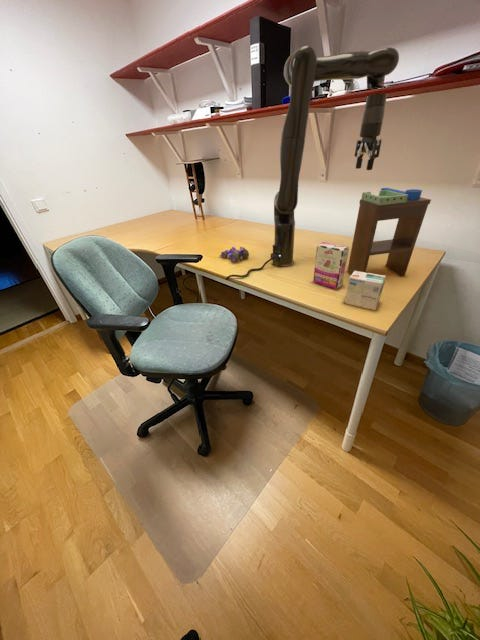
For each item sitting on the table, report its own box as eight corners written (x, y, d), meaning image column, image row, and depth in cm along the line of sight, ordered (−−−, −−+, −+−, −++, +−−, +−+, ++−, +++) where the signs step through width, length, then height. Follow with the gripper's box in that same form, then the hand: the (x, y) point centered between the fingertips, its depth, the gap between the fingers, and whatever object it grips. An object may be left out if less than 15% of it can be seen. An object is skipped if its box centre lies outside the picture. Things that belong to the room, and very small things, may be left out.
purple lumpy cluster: (230, 252, 145) (229, 241, 141) (249, 258, 136) (248, 246, 132) (217, 257, 140) (216, 246, 136) (236, 264, 131) (235, 252, 127)
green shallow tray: (406, 202, 89) (408, 194, 88) (379, 205, 88) (381, 197, 87) (385, 196, 99) (387, 189, 98) (361, 199, 98) (362, 192, 97)
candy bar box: (342, 285, 105) (350, 246, 95) (336, 290, 102) (343, 250, 93) (318, 278, 112) (323, 241, 102) (312, 282, 109) (316, 244, 99)
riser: (405, 276, 107) (431, 199, 90) (360, 282, 106) (378, 205, 88) (387, 265, 117) (407, 194, 100) (346, 271, 115) (359, 199, 98)
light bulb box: (379, 302, 93) (387, 275, 87) (375, 311, 88) (383, 283, 82) (348, 295, 98) (354, 269, 92) (343, 303, 94) (349, 276, 87)
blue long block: (422, 199, 91) (425, 190, 90) (410, 200, 91) (412, 192, 89) (388, 191, 107) (390, 184, 106) (377, 192, 107) (379, 185, 105)
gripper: (353, 123, 106) (347, 168, 115) (373, 121, 94) (364, 171, 104) (370, 122, 107) (362, 167, 116) (392, 119, 95) (381, 169, 104)
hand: (363, 169), depth 110 cm, fingers open, 8 cm apart
